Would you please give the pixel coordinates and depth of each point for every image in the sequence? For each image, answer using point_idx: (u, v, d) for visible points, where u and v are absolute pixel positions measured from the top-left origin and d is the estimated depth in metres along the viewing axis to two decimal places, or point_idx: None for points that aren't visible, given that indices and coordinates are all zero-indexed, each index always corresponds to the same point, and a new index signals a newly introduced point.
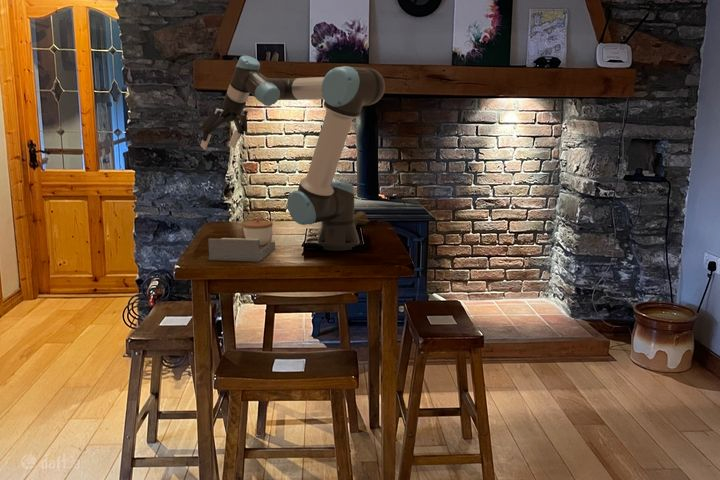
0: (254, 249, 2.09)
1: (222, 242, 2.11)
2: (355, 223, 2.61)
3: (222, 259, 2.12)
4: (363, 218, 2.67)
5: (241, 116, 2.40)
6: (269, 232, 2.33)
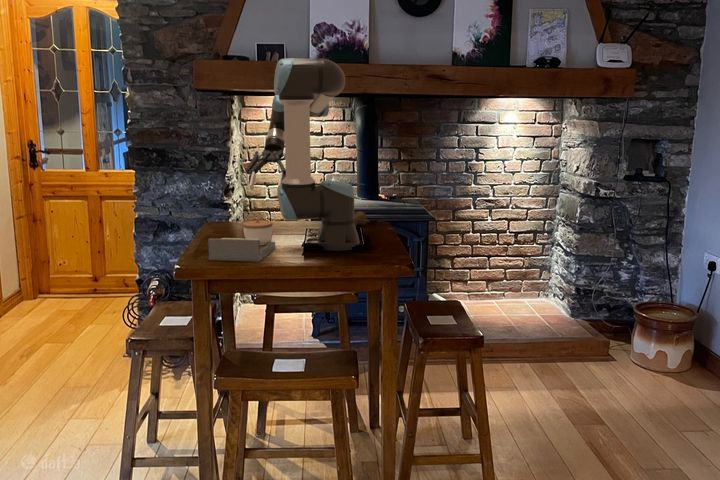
0: (254, 249, 2.09)
1: (222, 242, 2.11)
2: (355, 223, 2.61)
3: (222, 259, 2.12)
4: (363, 218, 2.67)
5: None
6: (269, 232, 2.33)
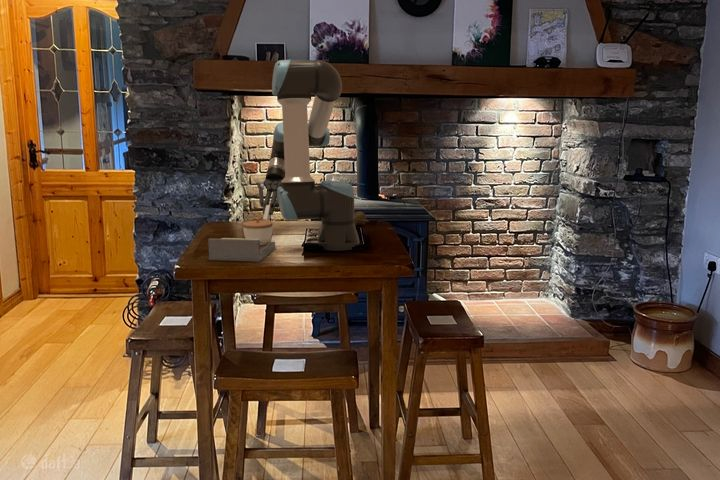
0: (254, 249, 2.09)
1: (222, 242, 2.11)
2: (355, 223, 2.61)
3: (222, 259, 2.12)
4: (362, 218, 2.67)
5: None
6: (269, 232, 2.33)
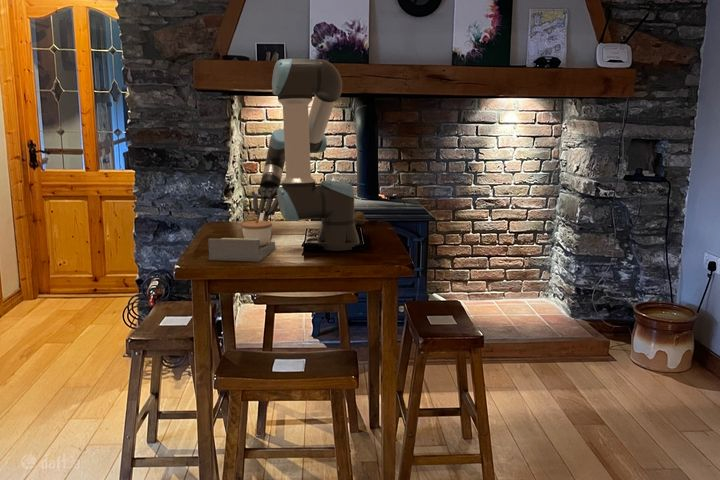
0: (254, 249, 2.09)
1: (222, 242, 2.11)
2: (354, 223, 2.61)
3: (222, 259, 2.12)
4: (361, 218, 2.67)
5: None
6: (269, 232, 2.32)
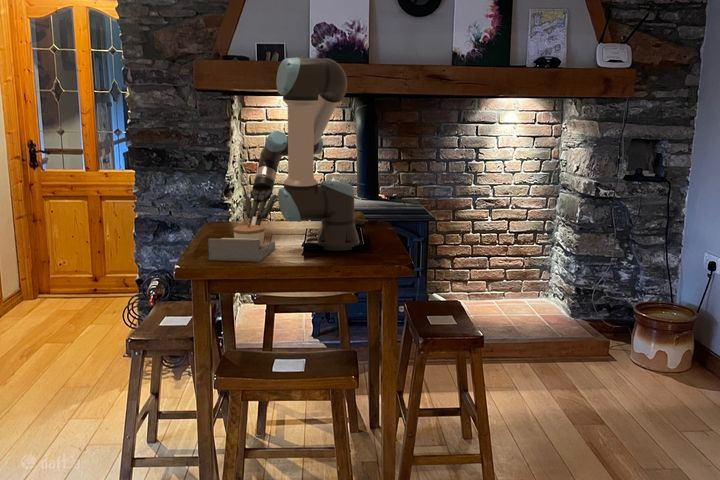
0: (254, 249, 2.09)
1: (222, 242, 2.11)
2: (354, 223, 2.61)
3: (222, 259, 2.12)
4: (361, 218, 2.67)
5: None
6: (261, 237, 2.24)
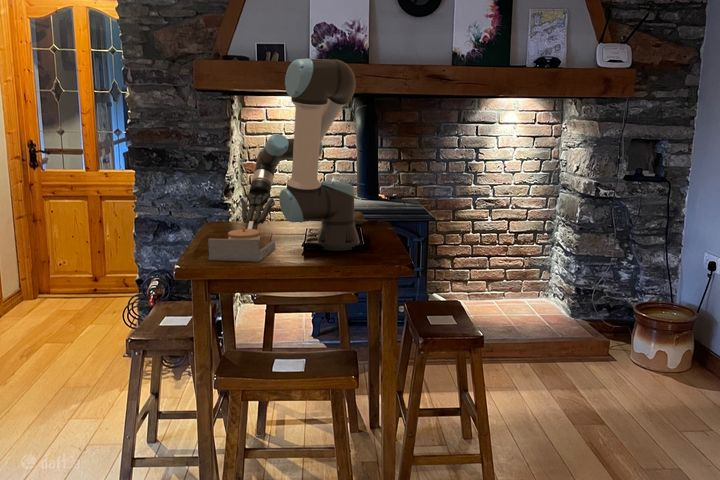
0: (254, 249, 2.09)
1: (222, 242, 2.11)
2: (354, 223, 2.61)
3: (222, 259, 2.12)
4: (360, 218, 2.67)
5: None
6: None
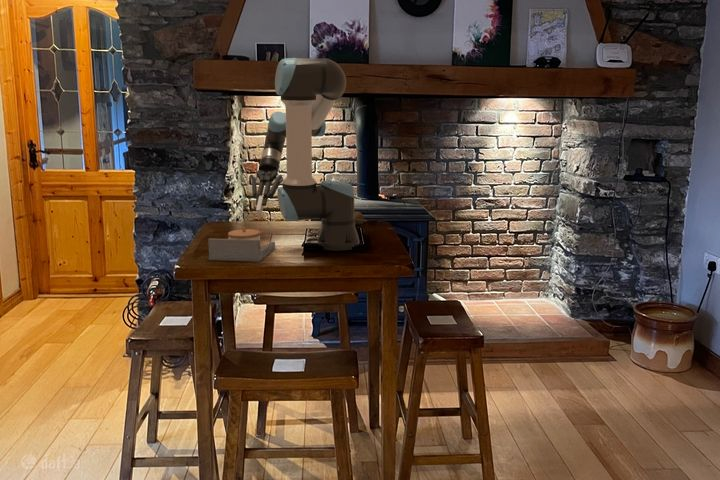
0: (254, 249, 2.09)
1: (222, 242, 2.11)
2: (354, 223, 2.61)
3: (222, 259, 2.12)
4: (360, 218, 2.67)
5: None
6: None
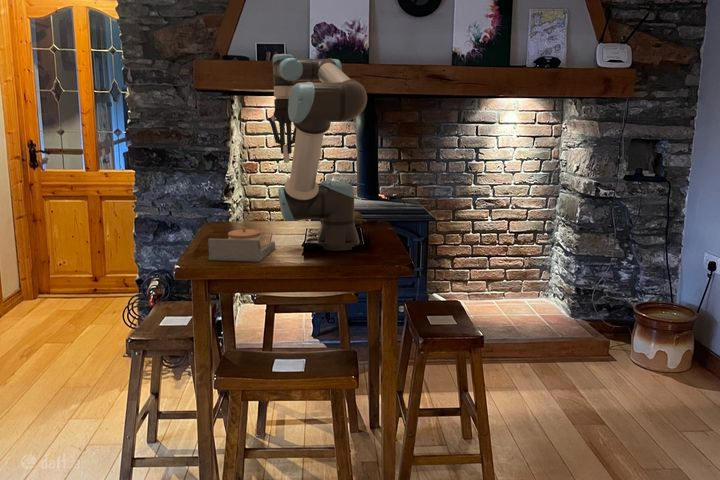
0: (254, 249, 2.09)
1: (222, 242, 2.11)
2: None
3: (222, 259, 2.12)
4: (359, 218, 2.67)
5: None
6: None
